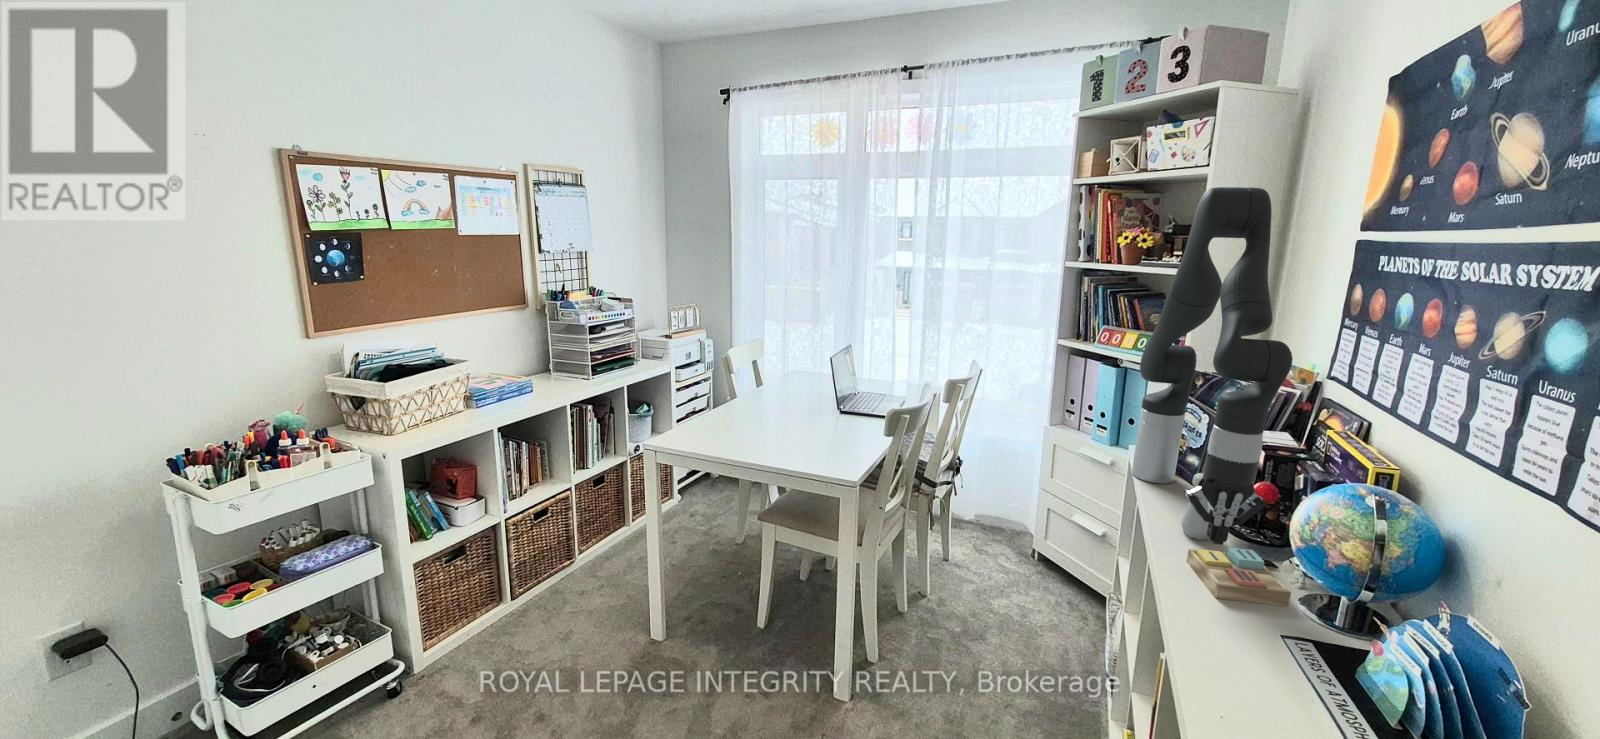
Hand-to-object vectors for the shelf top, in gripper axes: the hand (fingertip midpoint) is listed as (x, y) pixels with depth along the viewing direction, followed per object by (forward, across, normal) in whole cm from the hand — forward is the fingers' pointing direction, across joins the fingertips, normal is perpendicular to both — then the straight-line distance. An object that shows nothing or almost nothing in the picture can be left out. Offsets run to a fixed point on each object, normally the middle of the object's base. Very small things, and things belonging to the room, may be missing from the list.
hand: (1215, 542), depth 112 cm
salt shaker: (+6, -3, -14) cm, 15 cm away
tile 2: (+4, -5, 0) cm, 7 cm away
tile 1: (+5, 0, 0) cm, 5 cm away
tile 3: (+5, -3, +6) cm, 8 cm away
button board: (+6, -3, +3) cm, 7 cm away
